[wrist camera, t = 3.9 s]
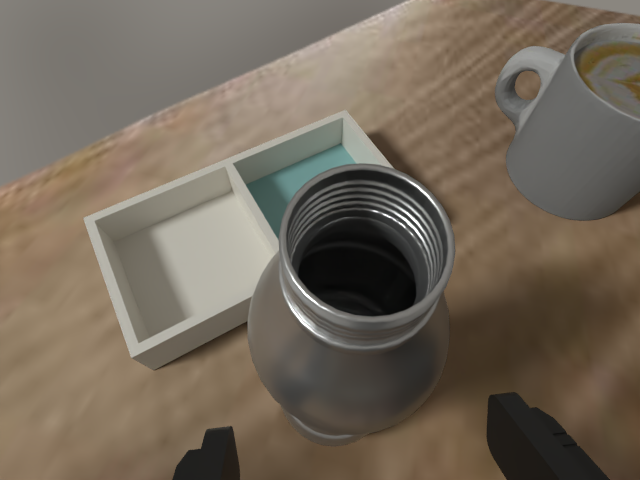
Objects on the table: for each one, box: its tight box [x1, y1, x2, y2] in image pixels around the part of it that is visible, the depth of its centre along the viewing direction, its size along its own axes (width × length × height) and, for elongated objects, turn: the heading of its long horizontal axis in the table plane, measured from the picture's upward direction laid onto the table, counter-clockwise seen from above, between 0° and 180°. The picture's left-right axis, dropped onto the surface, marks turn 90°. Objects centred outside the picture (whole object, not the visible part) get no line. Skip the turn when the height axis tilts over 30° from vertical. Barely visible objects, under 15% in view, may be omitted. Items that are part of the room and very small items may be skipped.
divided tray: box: [83, 110, 394, 370], centre depth 29 cm, size 21×11×4 cm, turn 120°
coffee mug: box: [495, 23, 640, 220], centre depth 31 cm, size 13×10×10 cm
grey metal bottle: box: [248, 163, 455, 447], centre depth 17 cm, size 6×7×20 cm
